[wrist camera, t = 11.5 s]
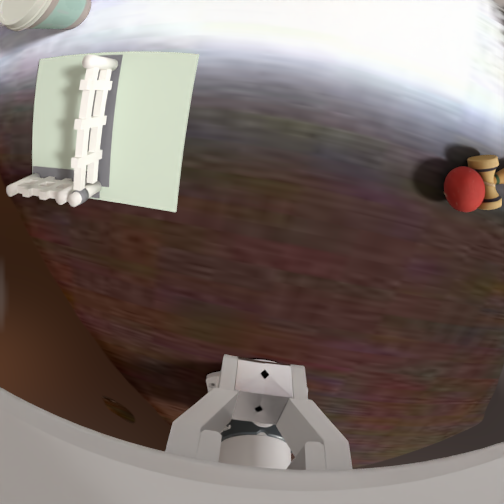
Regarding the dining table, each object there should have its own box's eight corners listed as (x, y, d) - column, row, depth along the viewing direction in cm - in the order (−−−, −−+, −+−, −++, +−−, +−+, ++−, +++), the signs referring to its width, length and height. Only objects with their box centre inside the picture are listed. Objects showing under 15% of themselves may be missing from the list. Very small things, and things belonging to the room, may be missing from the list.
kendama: (512, 135, 32) (434, 157, 33) (541, 150, 27) (466, 177, 28) (510, 179, 36) (435, 209, 38) (536, 196, 31) (462, 232, 32)
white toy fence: (101, 193, 38) (78, 208, 32) (90, 191, 38) (67, 206, 32) (120, 59, 30) (96, 54, 24) (107, 59, 30) (82, 54, 24)
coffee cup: (108, -17, 25) (60, -44, 14) (88, 39, 29) (31, 27, 18) (62, -13, 24) (10, -31, 14) (44, 38, 28) (-13, 32, 17)
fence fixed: (90, 178, 37) (65, 192, 31) (90, 190, 38) (65, 205, 32) (33, 172, 37) (5, 184, 31) (33, 182, 37) (6, 196, 32)
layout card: (176, 211, 39) (175, 212, 39) (34, 189, 38) (32, 190, 38) (199, 54, 30) (198, 54, 30) (41, 59, 29) (39, 59, 29)
